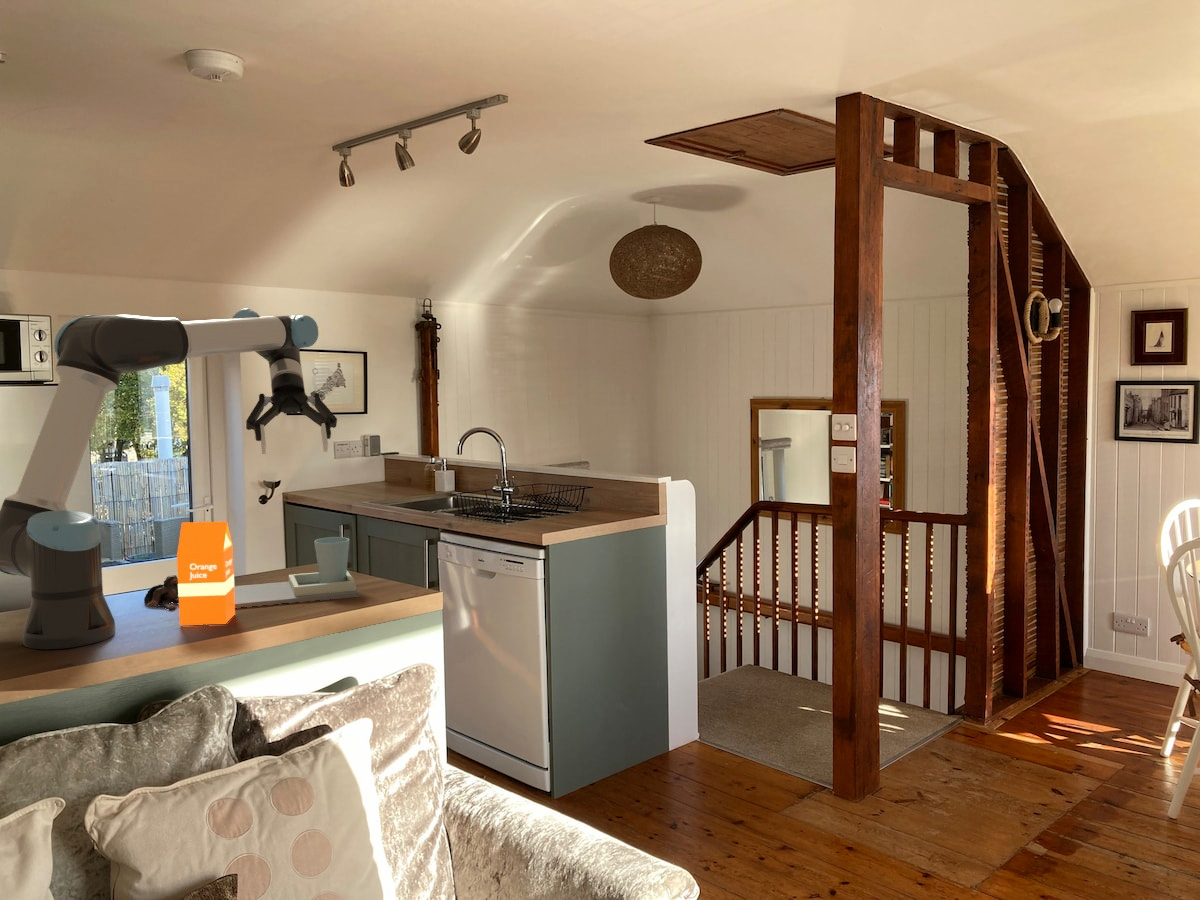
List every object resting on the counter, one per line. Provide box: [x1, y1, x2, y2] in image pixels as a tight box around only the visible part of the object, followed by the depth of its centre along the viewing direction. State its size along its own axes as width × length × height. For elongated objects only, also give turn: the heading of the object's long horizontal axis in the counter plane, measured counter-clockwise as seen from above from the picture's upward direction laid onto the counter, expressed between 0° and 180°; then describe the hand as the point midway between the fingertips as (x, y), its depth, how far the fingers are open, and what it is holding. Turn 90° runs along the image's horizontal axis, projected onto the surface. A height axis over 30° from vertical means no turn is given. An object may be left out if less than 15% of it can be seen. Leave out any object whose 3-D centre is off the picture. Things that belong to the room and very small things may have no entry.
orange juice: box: [176, 521, 236, 626], centre depth 189 cm, size 8×9×20 cm
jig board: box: [234, 570, 360, 609], centre depth 211 cm, size 26×17×3 cm, turn 113°
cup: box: [314, 536, 350, 584], centre depth 215 cm, size 8×8×10 cm
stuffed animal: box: [143, 574, 179, 610], centre depth 205 cm, size 12×10×12 cm
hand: (295, 449), depth 217 cm, fingers open, 13 cm apart
